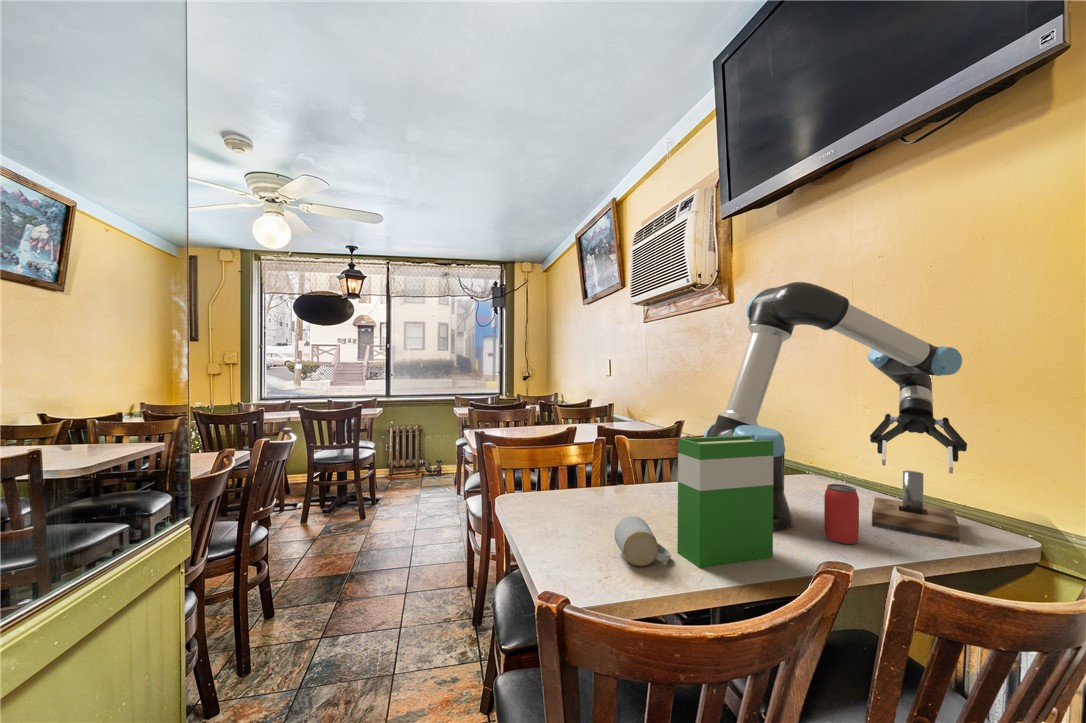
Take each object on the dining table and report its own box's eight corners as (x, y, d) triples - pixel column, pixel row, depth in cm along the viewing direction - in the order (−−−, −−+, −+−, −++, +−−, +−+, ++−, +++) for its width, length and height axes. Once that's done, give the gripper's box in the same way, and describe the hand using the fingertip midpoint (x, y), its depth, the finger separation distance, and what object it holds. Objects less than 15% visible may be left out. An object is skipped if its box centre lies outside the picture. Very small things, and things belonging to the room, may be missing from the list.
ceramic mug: (623, 569, 87) (624, 529, 87) (613, 551, 95) (614, 515, 95) (676, 569, 88) (677, 529, 88) (662, 551, 96) (663, 515, 96)
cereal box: (746, 544, 100) (747, 435, 100) (772, 557, 93) (773, 441, 93) (677, 553, 95) (678, 438, 95) (699, 568, 88) (700, 444, 88)
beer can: (864, 546, 99) (864, 491, 99) (831, 544, 101) (831, 489, 101) (850, 535, 106) (850, 484, 106) (819, 533, 107) (819, 482, 107)
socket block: (872, 525, 113) (872, 511, 113) (875, 510, 125) (875, 497, 125) (959, 541, 103) (959, 526, 103) (953, 522, 115) (953, 509, 115)
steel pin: (902, 520, 114) (902, 472, 114) (902, 516, 117) (903, 469, 117) (923, 524, 111) (923, 475, 111) (923, 519, 114) (923, 472, 114)
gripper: (974, 417, 125) (980, 482, 113) (863, 410, 140) (859, 467, 129) (976, 399, 121) (983, 464, 109) (862, 394, 136) (857, 451, 125)
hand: (916, 466), depth 119 cm, fingers open, 13 cm apart
